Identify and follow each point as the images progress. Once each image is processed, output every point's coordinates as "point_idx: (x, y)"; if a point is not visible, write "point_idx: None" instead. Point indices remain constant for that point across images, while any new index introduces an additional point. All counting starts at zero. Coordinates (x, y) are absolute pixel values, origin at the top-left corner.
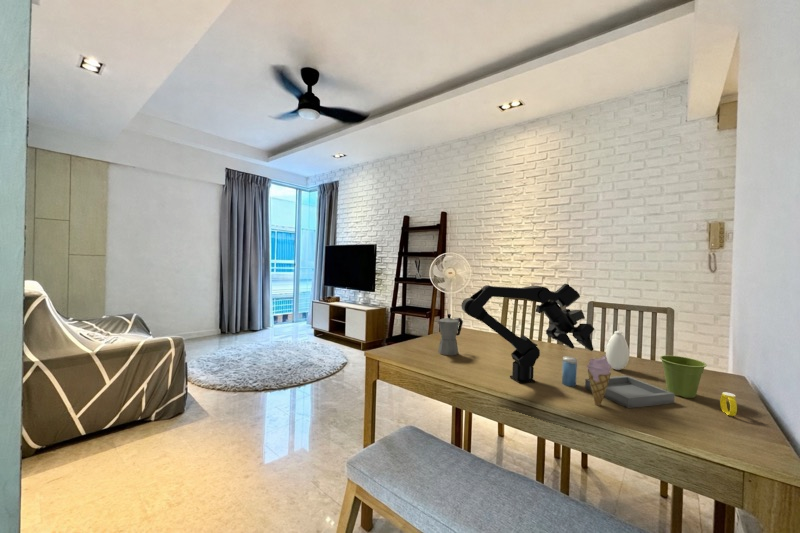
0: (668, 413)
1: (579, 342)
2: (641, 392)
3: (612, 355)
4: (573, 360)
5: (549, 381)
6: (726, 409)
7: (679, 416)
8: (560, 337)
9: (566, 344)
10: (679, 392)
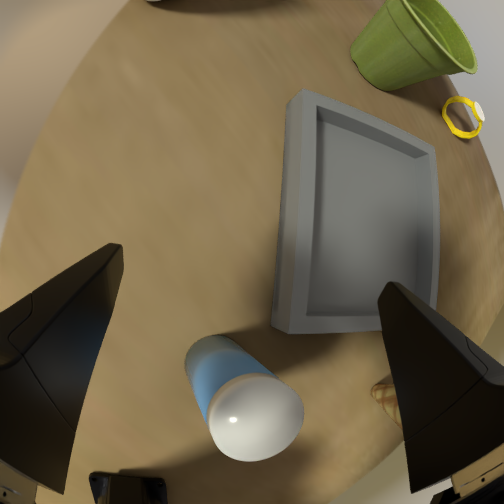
0: (443, 242)
1: (415, 458)
2: (379, 176)
3: None
4: (299, 425)
5: (163, 423)
6: (445, 110)
7: (452, 234)
8: (51, 454)
9: (96, 356)
10: (397, 88)
